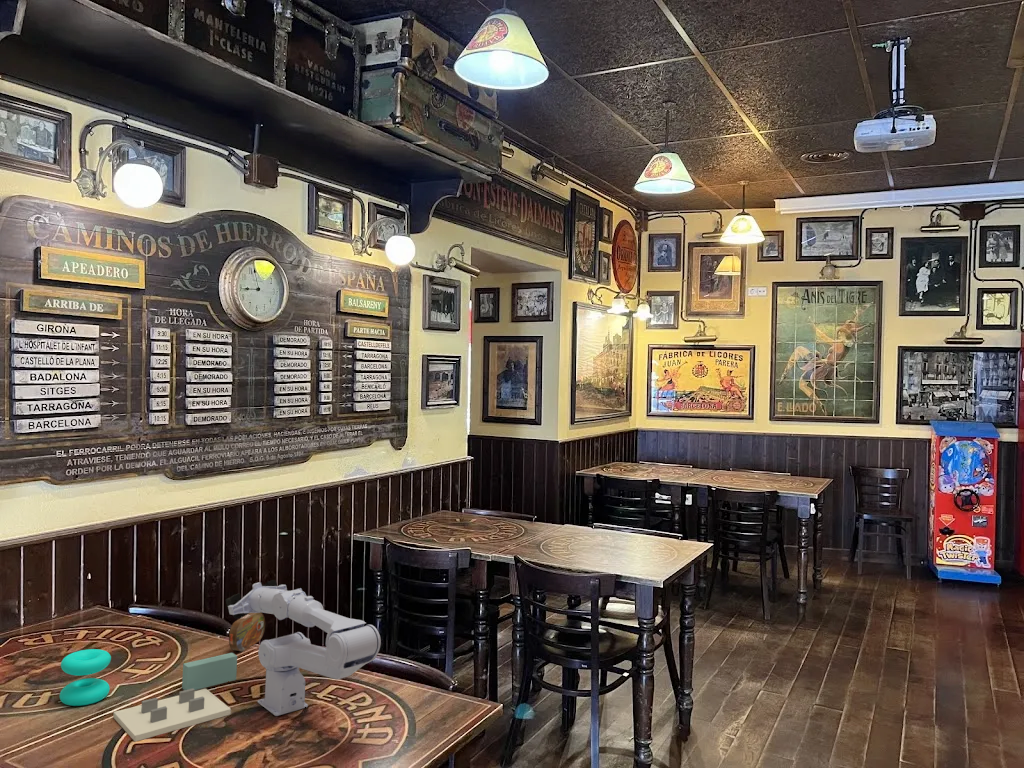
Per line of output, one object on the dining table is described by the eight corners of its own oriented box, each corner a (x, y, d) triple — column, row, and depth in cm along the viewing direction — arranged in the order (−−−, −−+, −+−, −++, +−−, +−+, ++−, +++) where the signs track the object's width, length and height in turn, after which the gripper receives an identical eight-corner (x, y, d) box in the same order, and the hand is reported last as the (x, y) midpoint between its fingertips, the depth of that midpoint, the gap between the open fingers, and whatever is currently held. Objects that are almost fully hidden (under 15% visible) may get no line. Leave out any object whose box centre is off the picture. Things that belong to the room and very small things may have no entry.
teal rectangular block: (236, 680, 185) (237, 656, 185) (186, 692, 177) (187, 667, 177) (231, 676, 187) (232, 652, 187) (182, 688, 179) (183, 663, 179)
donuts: (71, 666, 164) (54, 654, 170) (69, 712, 164) (52, 698, 170) (118, 655, 172) (100, 644, 178) (116, 698, 172) (98, 685, 178)
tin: (236, 656, 201) (237, 624, 201) (225, 654, 201) (227, 623, 201) (265, 637, 215) (267, 608, 215) (255, 636, 216) (257, 607, 216)
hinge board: (230, 714, 166) (231, 698, 166) (134, 741, 152) (135, 724, 152) (205, 693, 176) (206, 678, 176) (113, 717, 163) (114, 700, 162)
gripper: (293, 573, 182) (264, 571, 192) (238, 595, 172) (210, 591, 181) (298, 601, 183) (270, 598, 192) (244, 625, 172) (217, 620, 181)
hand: (241, 596), depth 186 cm, fingers open, 7 cm apart
